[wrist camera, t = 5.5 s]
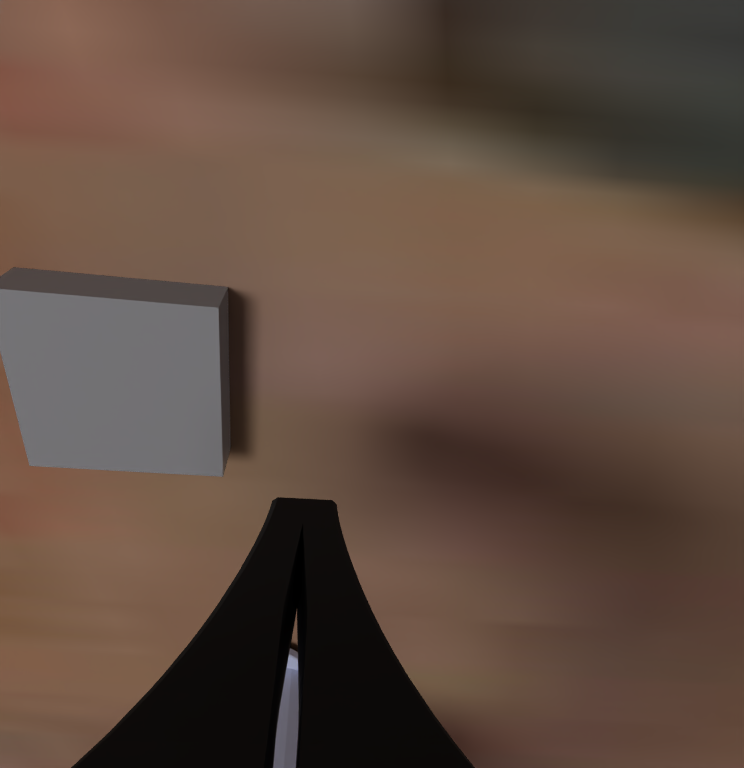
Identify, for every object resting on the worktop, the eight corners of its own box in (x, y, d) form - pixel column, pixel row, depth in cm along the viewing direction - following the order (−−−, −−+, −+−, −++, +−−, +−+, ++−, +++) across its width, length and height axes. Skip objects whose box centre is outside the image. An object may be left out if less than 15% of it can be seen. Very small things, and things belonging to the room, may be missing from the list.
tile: (218, 307, 15) (-16, 287, 15) (223, 476, 18) (29, 465, 18) (229, 283, 17) (18, 263, 16) (232, 441, 20) (54, 431, 19)
